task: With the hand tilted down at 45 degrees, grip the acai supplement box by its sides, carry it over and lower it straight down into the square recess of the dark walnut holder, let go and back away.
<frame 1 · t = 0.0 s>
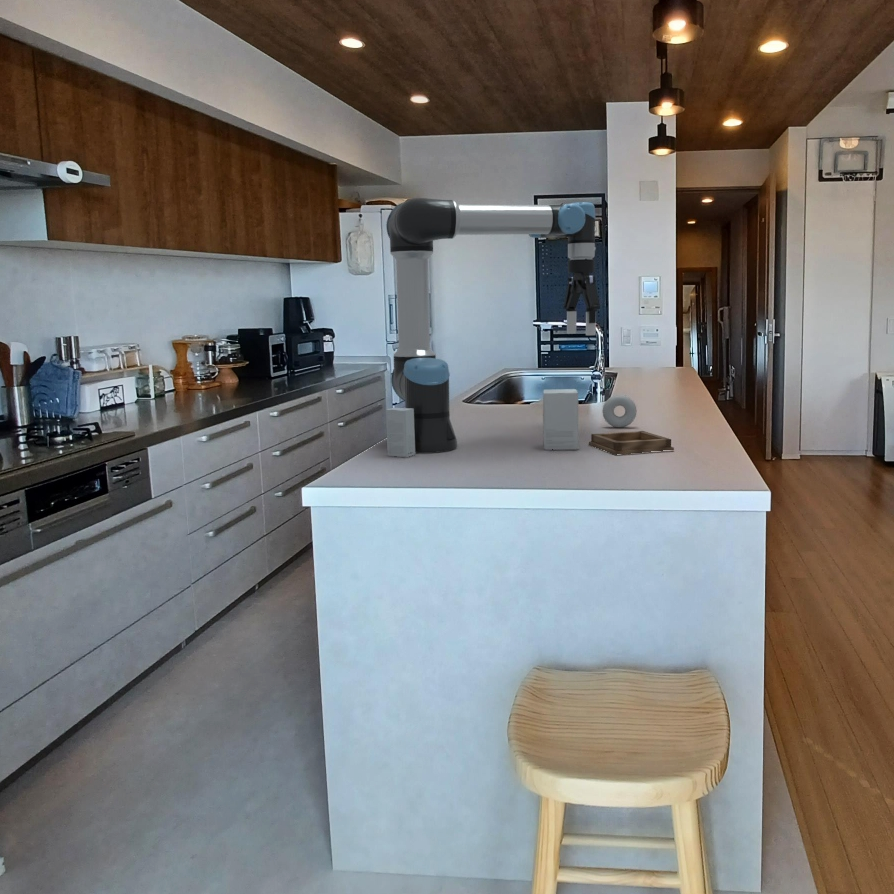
hand: (580, 334, 249), 28 cm above the countertop, tool pointing down, fingers open, 13 cm apart
donut: (619, 428, 257), on the countertop
supplement box: (560, 448, 226), on the countertop
holder: (630, 448, 222), on the countertop
skincare box: (401, 456, 219), on the countertop
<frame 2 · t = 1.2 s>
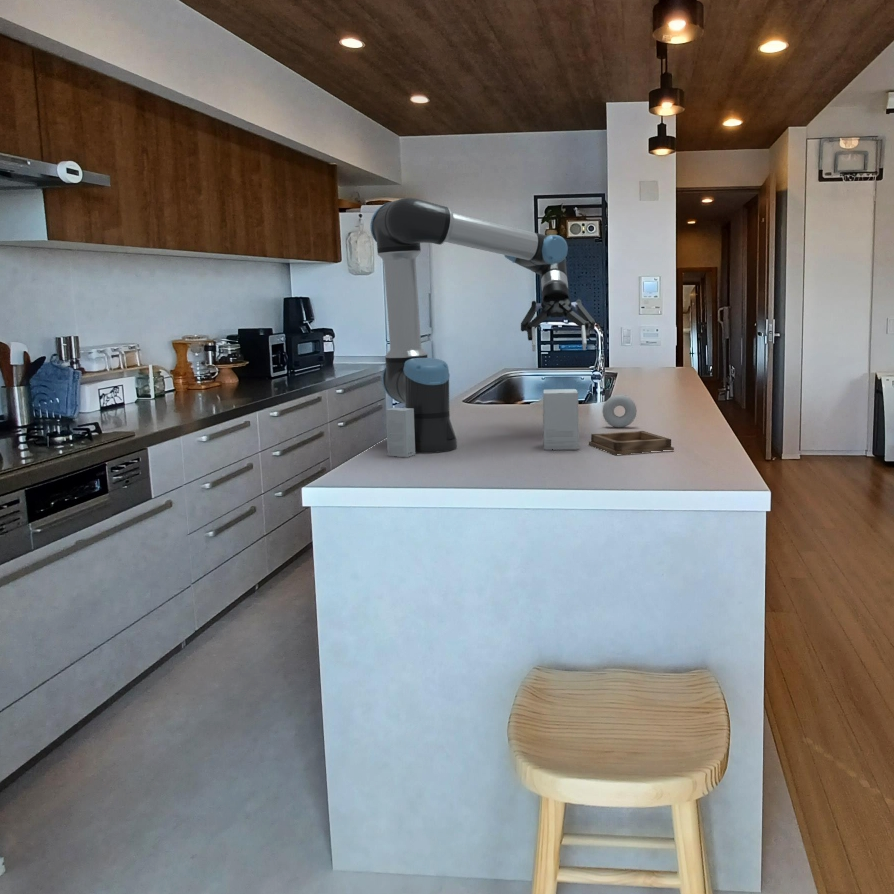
hand: (559, 347, 232), 25 cm above the countertop, tool tilted 45°, fingers open, 13 cm apart
nothing on the countertop moved.
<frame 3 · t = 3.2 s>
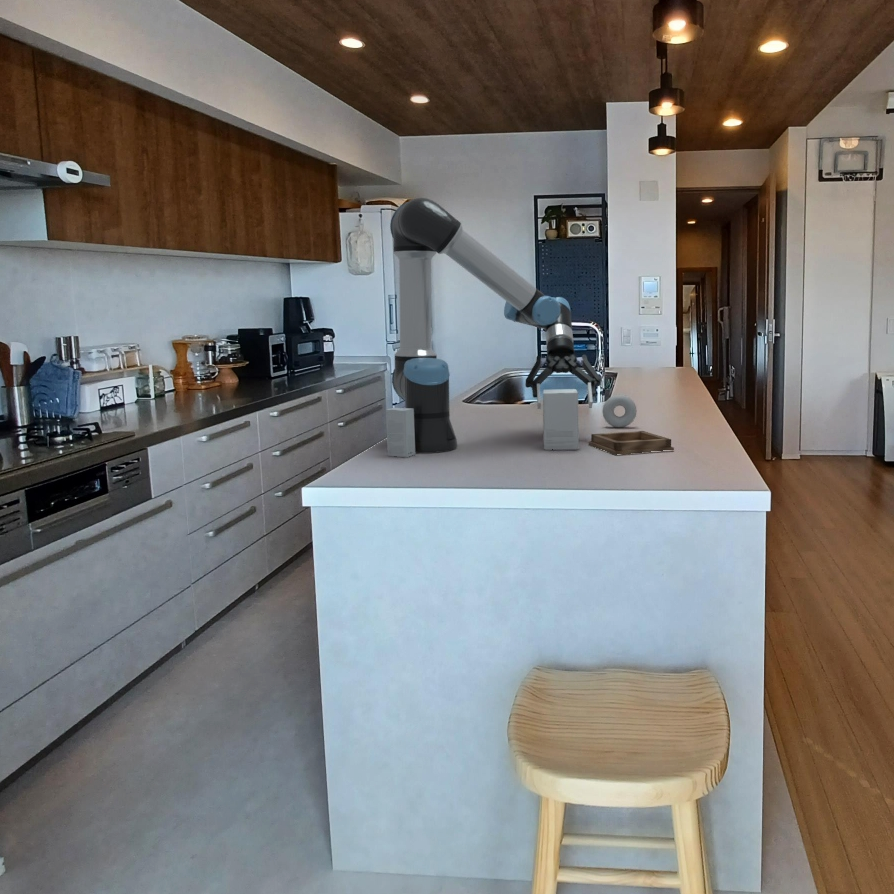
hand: (565, 405, 228), 10 cm above the countertop, tool tilted 45°, fingers open, 13 cm apart
nothing on the countertop moved.
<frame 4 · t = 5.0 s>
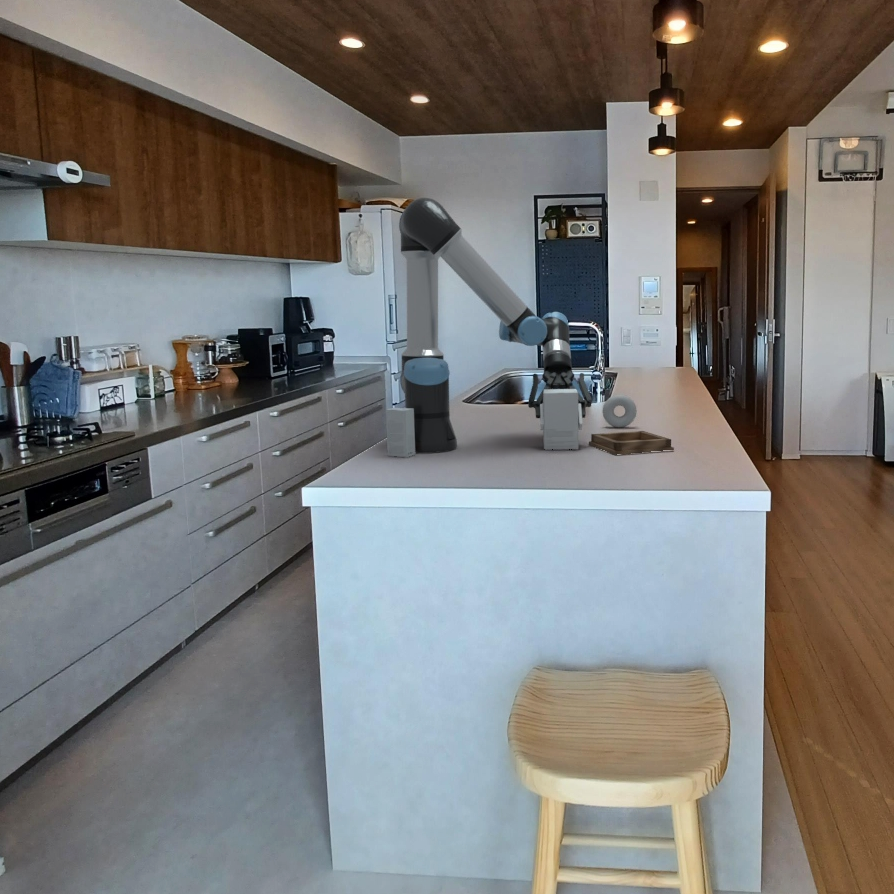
hand: (561, 426, 222), 6 cm above the countertop, tool tilted 45°, fingers closed on supplement box, 9 cm apart
supplement box: (560, 447, 226), on the countertop, touching gripper
everything else where it was.
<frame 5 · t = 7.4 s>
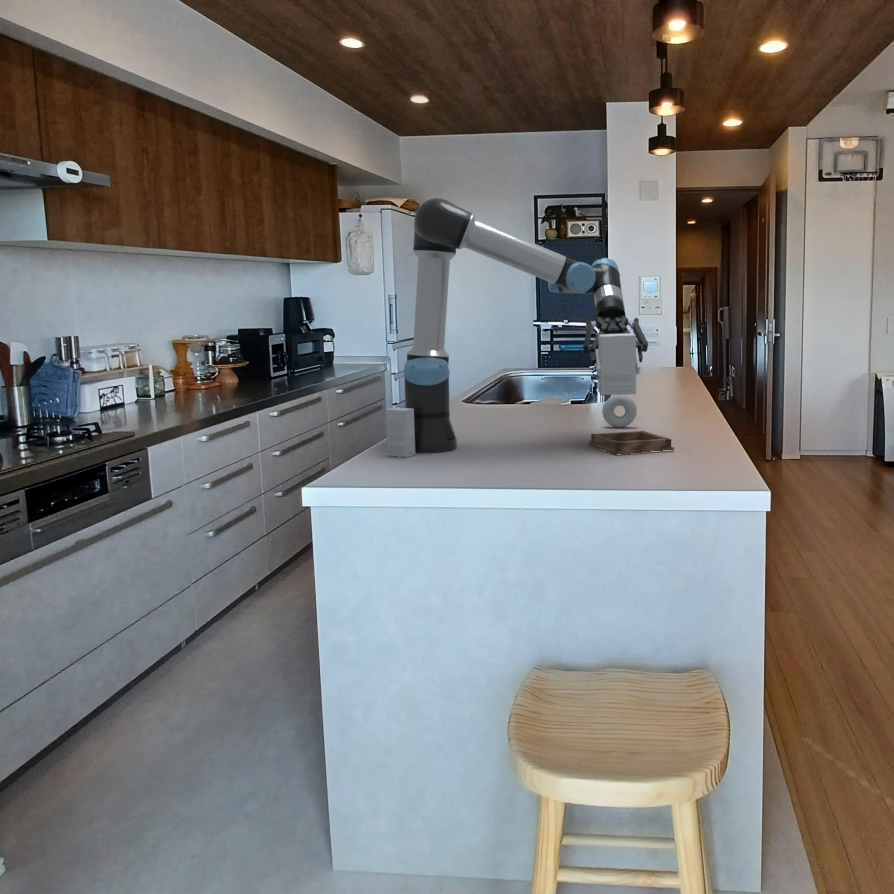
hand: (618, 371, 217), 20 cm above the countertop, tool tilted 45°, fingers closed on supplement box, 9 cm apart
supplement box: (616, 393, 221), point 14 cm above the countertop, touching gripper
everything else where it was.
when the fingers open (8 cm above the countertop, at t = 10.2 s): supplement box drops 1 cm, resting on holder.
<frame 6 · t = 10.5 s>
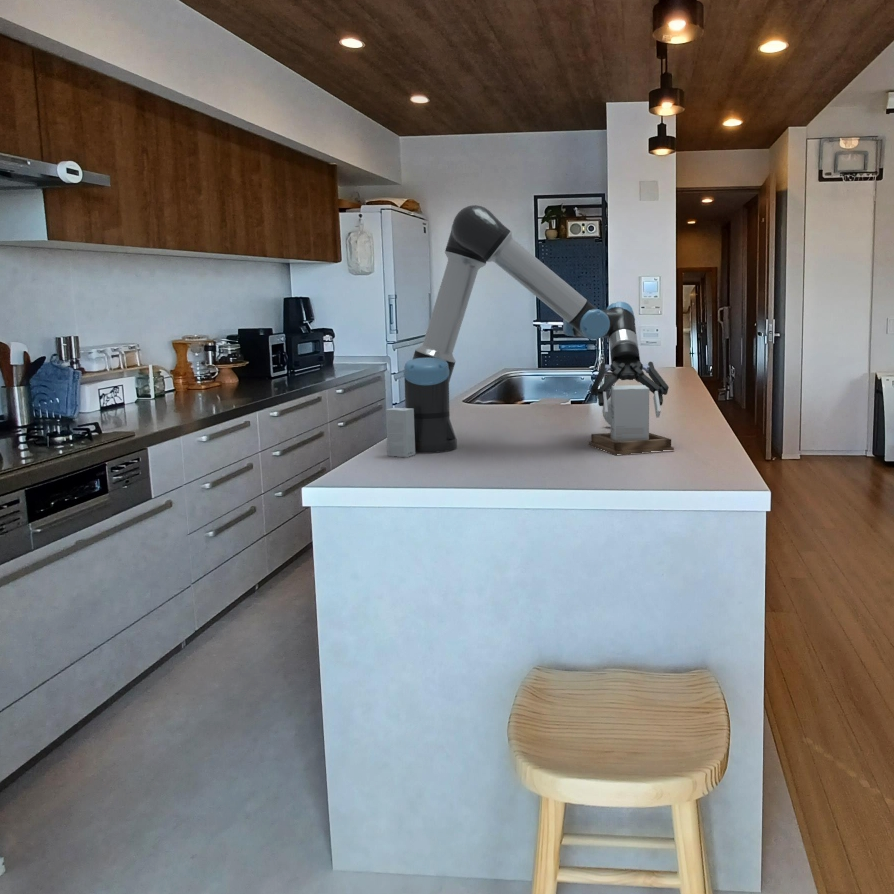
hand: (632, 414, 218), 9 cm above the countertop, tool tilted 45°, fingers open, 12 cm apart
supplement box: (629, 445, 222), point 1 cm above the countertop, touching holder
everything else where it was.
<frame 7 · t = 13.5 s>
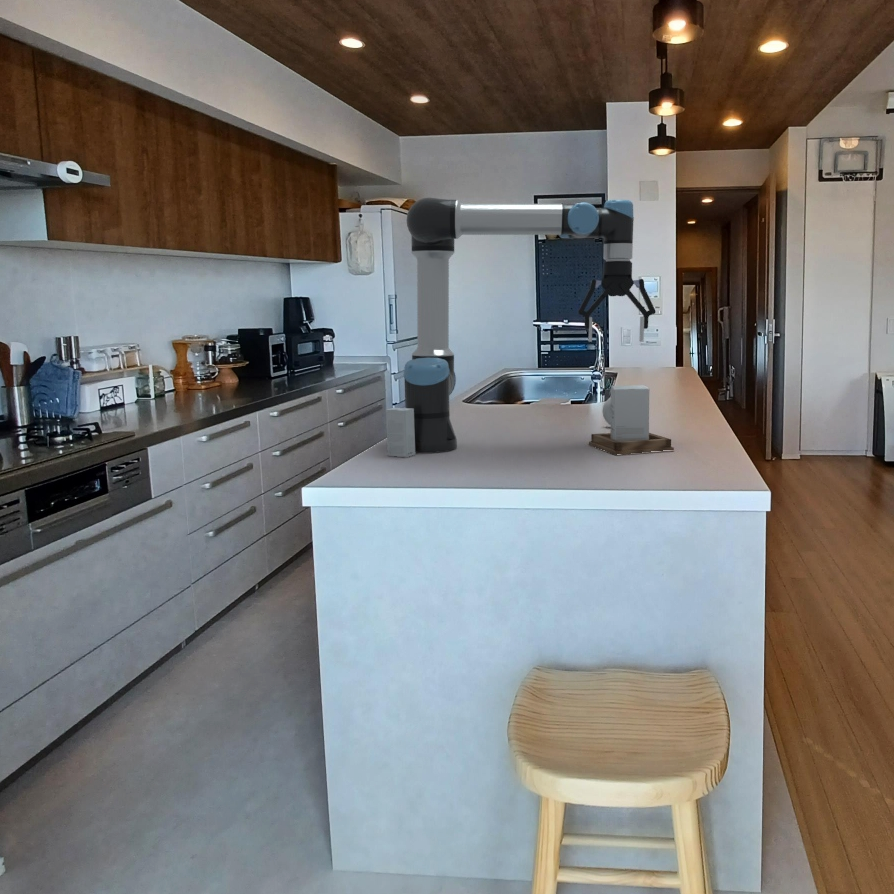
hand: (615, 341, 232), 27 cm above the countertop, tool pointing down, fingers open, 13 cm apart
nothing on the countertop moved.
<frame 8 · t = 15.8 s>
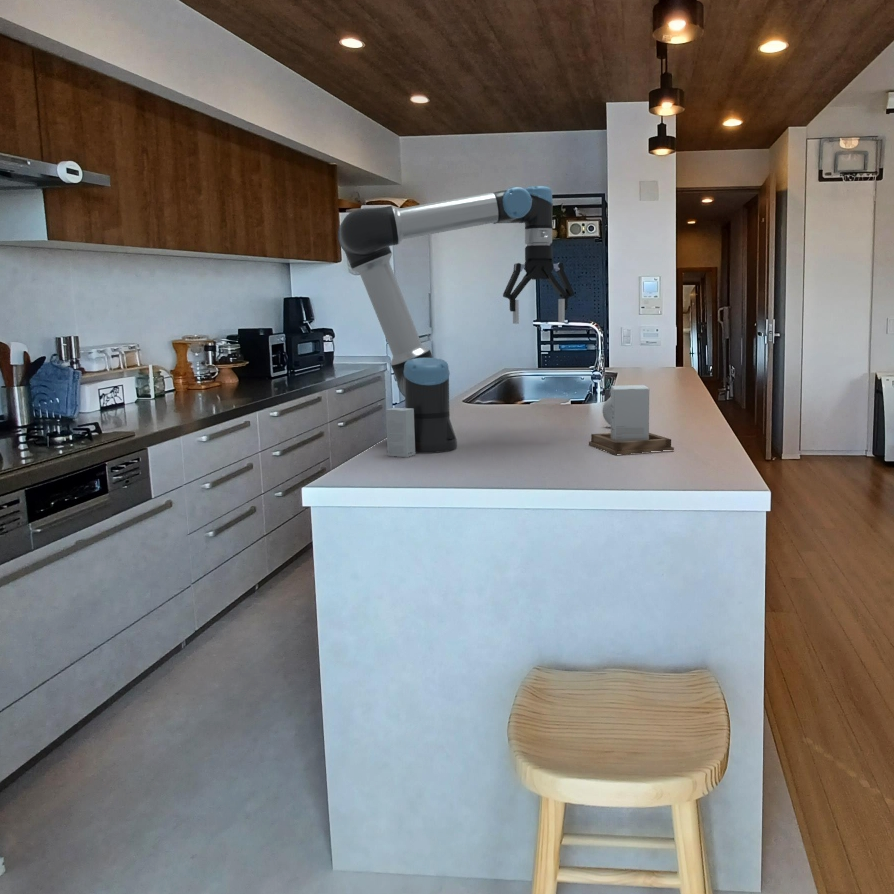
hand: (538, 323, 241), 32 cm above the countertop, tool pointing down, fingers open, 13 cm apart
nothing on the countertop moved.
at the end: supplement box inside the target area on the holder (0.3 cm from its centre), point 0.8 cm above the holder's base; supplement box tilted 0°; the gripper is holding nothing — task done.
